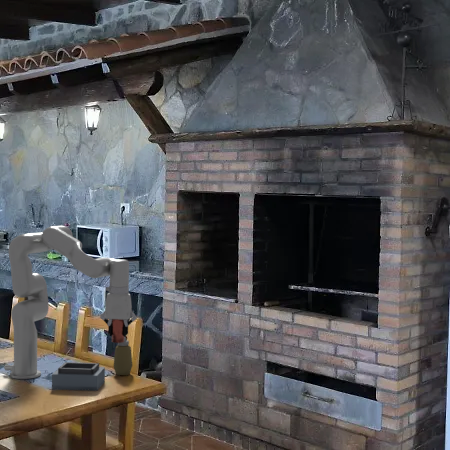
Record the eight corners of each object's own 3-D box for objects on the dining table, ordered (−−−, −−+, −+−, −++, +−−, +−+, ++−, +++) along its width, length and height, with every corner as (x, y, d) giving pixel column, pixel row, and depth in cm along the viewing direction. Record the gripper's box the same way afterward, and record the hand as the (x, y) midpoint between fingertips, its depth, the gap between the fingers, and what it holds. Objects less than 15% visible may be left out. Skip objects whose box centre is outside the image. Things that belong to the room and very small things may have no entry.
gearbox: (51, 389, 278) (51, 369, 278) (61, 380, 291) (61, 361, 291) (97, 390, 277) (97, 370, 277) (104, 381, 290) (104, 362, 290)
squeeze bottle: (128, 377, 297) (129, 335, 296) (110, 376, 299) (110, 333, 298) (135, 372, 305) (135, 331, 304) (117, 371, 307) (117, 330, 306)
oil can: (110, 342, 280) (111, 308, 279) (113, 339, 285) (113, 306, 284) (122, 343, 280) (123, 309, 279) (125, 340, 285) (126, 307, 284)
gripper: (95, 291, 278) (94, 336, 279) (138, 292, 277) (137, 338, 278) (100, 288, 285) (99, 333, 286) (141, 289, 284) (140, 334, 285)
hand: (118, 335), depth 282 cm, fingers closed on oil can, 5 cm apart
